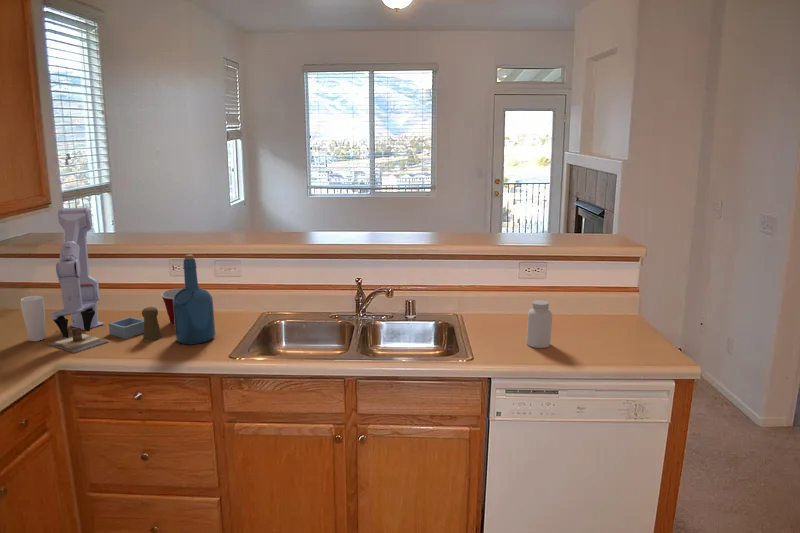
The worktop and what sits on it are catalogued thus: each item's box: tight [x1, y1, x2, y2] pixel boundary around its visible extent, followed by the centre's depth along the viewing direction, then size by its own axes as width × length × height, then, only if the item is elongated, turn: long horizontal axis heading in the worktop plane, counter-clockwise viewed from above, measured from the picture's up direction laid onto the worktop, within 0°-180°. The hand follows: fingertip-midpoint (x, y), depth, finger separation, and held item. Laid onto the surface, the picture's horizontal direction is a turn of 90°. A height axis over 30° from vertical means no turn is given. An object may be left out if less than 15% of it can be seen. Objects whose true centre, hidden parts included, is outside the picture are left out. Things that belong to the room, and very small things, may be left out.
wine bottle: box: [173, 253, 216, 345], centre depth 209 cm, size 14×13×30 cm
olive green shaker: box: [141, 306, 162, 342], centre depth 212 cm, size 6×6×11 cm
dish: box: [108, 316, 144, 339], centre depth 218 cm, size 9×9×4 cm
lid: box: [55, 327, 101, 349], centre depth 207 cm, size 10×10×5 cm
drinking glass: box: [20, 295, 47, 342], centre depth 210 cm, size 7×7×15 cm
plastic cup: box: [160, 288, 183, 326], centre depth 228 cm, size 11×11×12 cm
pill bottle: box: [525, 299, 553, 349], centre depth 204 cm, size 8×8×15 cm
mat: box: [46, 335, 109, 354], centre depth 208 cm, size 16×12×1 cm
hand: (76, 334), depth 207 cm, fingers open, 7 cm apart
